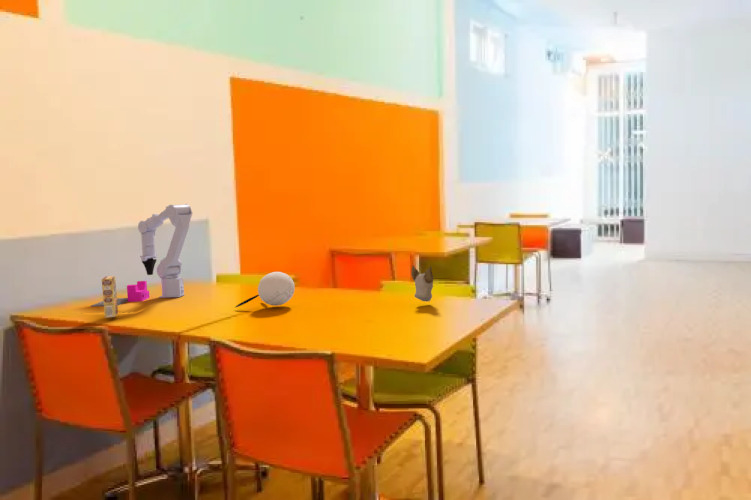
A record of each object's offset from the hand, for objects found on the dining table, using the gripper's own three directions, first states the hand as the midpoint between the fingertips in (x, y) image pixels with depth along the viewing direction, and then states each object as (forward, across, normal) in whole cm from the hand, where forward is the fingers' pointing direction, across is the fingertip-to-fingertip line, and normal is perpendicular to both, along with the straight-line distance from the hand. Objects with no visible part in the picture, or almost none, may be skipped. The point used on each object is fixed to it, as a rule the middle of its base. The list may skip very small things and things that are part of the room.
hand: (150, 274), depth 339 cm
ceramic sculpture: (+10, +43, +129) cm, 136 cm away
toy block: (+10, +13, 0) cm, 16 cm away
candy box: (+10, +57, +5) cm, 58 cm away
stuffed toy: (-2, +46, +75) cm, 88 cm away
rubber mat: (+9, +22, -9) cm, 26 cm away
